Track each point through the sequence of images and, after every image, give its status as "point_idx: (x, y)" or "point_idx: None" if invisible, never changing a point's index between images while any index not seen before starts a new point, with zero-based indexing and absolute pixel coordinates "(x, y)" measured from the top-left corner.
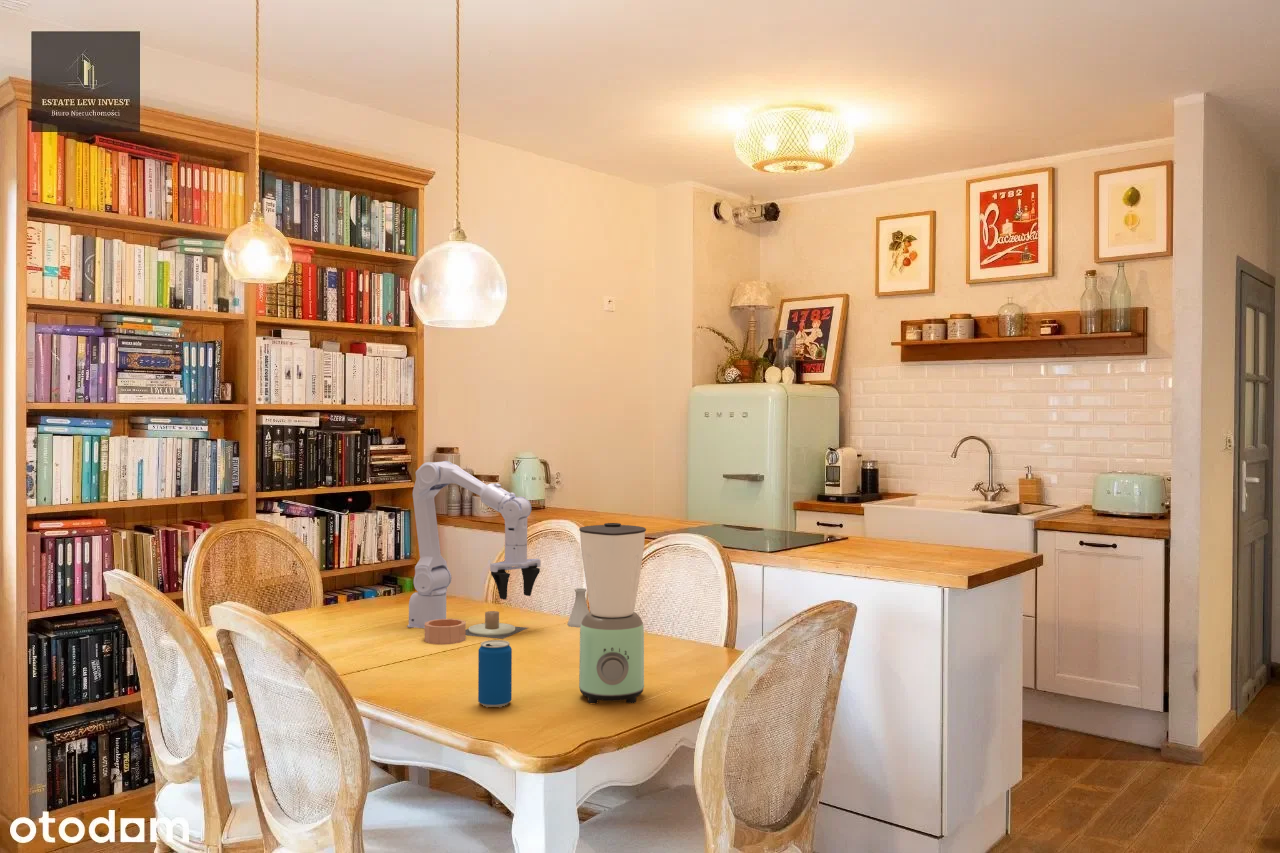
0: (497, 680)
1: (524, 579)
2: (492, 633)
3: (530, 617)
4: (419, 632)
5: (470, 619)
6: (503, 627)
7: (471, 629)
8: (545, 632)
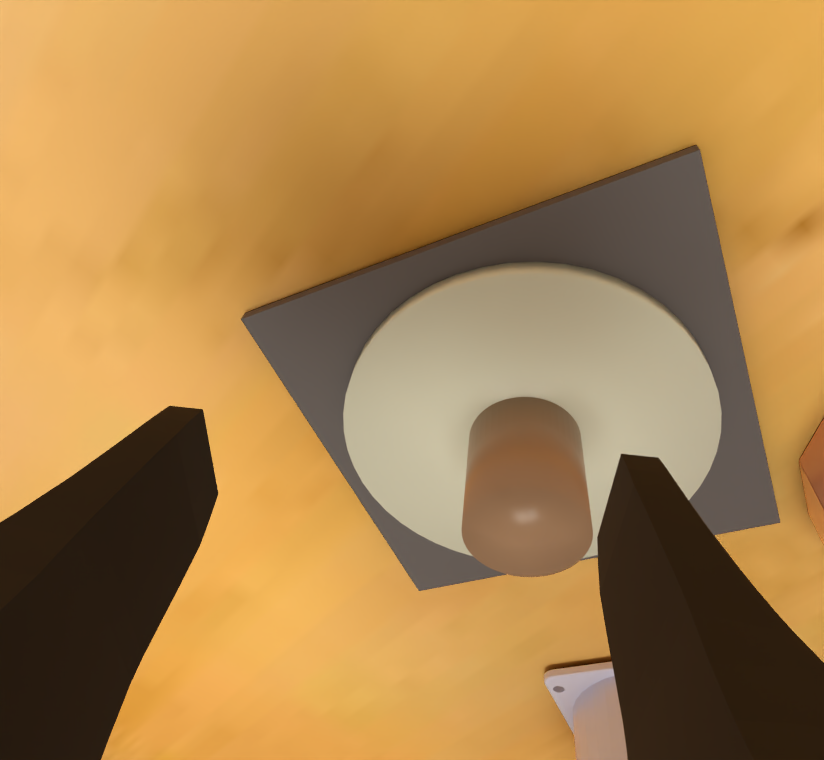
0: None
1: (106, 701)
2: (666, 312)
3: None
4: None
5: (380, 682)
6: (452, 393)
7: None
8: (181, 119)
